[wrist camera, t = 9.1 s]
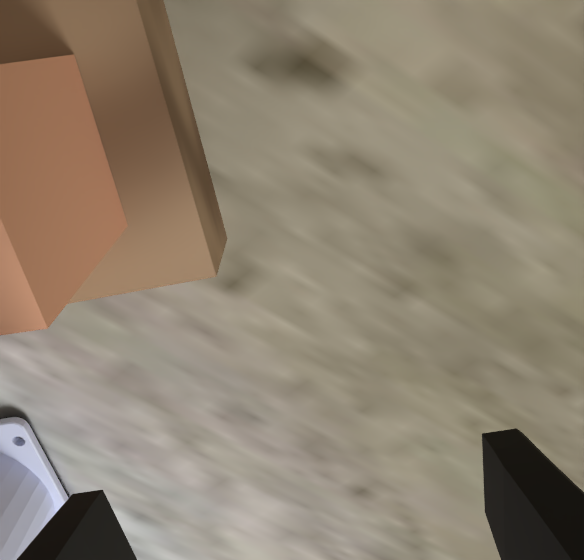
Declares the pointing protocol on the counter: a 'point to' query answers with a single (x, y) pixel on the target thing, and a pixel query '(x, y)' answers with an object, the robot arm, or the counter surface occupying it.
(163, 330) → the counter surface
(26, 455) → the robot arm
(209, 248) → the walnut base block
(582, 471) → the counter surface
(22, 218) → the terracotta block
